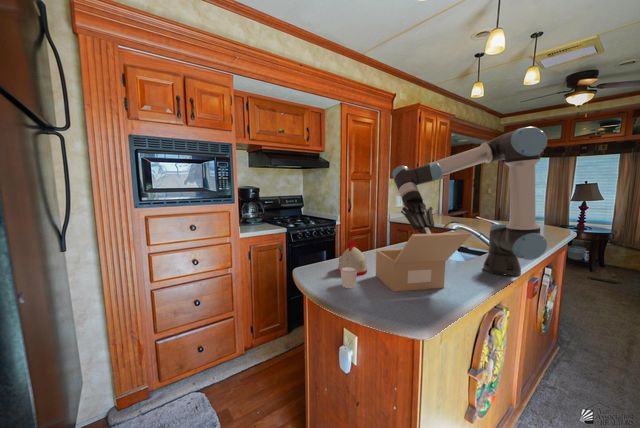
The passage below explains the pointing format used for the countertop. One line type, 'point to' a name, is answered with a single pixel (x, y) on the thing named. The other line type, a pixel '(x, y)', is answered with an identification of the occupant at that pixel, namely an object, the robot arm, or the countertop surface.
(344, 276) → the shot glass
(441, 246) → the carton lid
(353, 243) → the kitchen timer
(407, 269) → the carton
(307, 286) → the countertop surface
